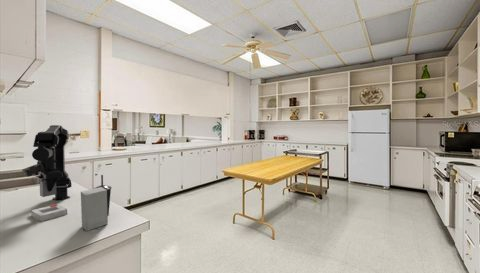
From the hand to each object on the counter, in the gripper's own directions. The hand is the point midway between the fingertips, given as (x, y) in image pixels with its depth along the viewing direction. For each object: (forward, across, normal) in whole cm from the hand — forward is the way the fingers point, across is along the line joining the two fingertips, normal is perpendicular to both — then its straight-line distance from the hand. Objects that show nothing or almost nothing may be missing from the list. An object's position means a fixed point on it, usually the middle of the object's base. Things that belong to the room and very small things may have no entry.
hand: (48, 190), depth 104 cm
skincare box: (+12, +31, +7) cm, 34 cm away
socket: (+12, 0, 0) cm, 12 cm away
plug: (+2, 0, 0) cm, 2 cm away
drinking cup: (+12, +23, +14) cm, 29 cm away
